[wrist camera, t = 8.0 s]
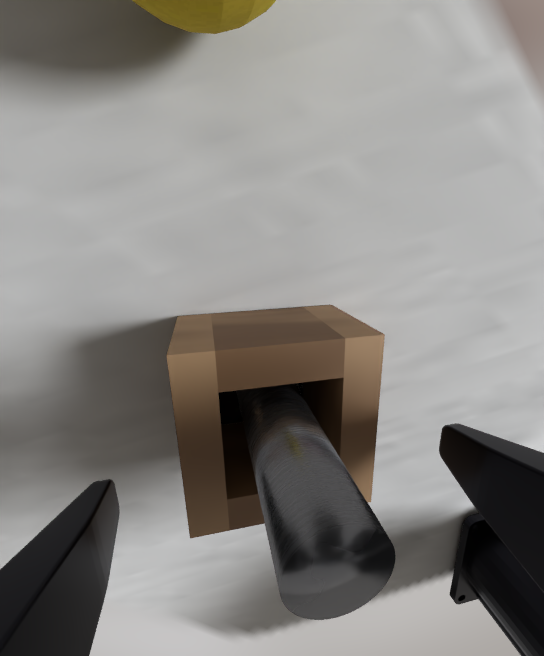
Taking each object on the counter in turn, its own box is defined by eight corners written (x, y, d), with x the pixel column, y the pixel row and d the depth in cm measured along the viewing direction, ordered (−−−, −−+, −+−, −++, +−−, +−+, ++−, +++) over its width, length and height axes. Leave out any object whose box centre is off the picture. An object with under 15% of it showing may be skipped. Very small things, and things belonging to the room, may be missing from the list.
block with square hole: (327, 432, 15) (370, 501, 11) (193, 453, 14) (190, 538, 10) (331, 304, 13) (384, 334, 9) (177, 316, 12) (166, 355, 8)
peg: (287, 400, 14) (390, 603, 6) (236, 407, 13) (280, 633, 6) (286, 353, 13) (400, 514, 6) (233, 358, 13) (278, 540, 5)
